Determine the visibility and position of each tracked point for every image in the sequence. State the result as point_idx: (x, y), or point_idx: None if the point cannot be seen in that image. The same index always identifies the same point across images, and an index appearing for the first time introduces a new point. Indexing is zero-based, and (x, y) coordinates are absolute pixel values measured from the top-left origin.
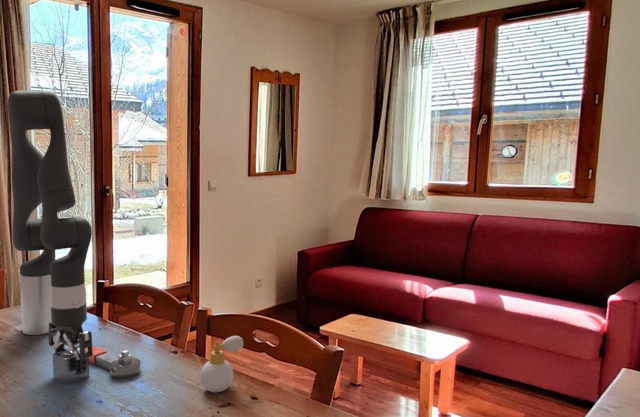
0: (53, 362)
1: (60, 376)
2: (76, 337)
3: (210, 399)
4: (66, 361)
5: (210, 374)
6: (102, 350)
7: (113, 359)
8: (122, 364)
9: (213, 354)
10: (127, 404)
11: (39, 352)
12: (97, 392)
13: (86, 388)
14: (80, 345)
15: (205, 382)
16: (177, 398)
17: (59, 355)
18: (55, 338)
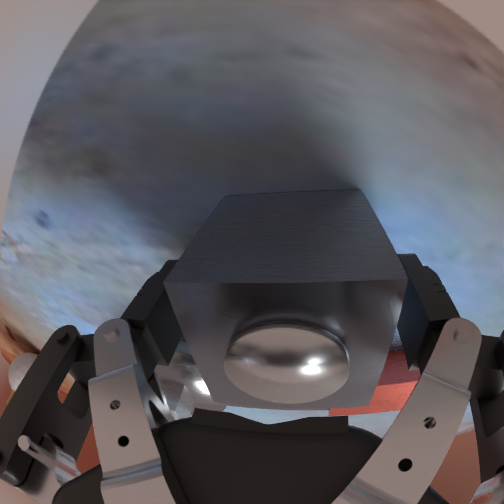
0: (378, 234)
1: (284, 203)
2: (72, 479)
3: (21, 337)
4: (171, 275)
5: (9, 371)
6: (346, 412)
7: None
8: (161, 383)
9: (7, 403)
10: (19, 256)
11: None
12: (90, 245)
13: (136, 236)
14: (26, 401)
15: (17, 359)
16: (27, 321)
17: (317, 299)
18: (445, 443)
